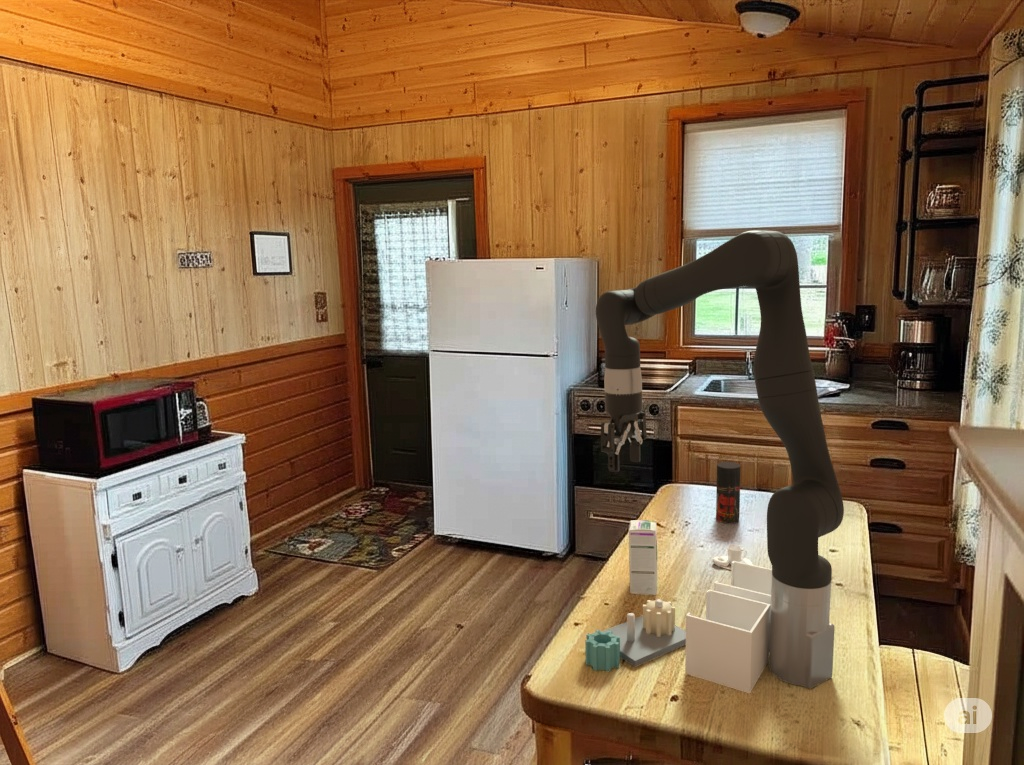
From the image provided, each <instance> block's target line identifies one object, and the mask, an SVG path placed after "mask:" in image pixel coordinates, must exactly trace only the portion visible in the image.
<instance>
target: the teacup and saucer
mask: <svg viewBox="0 0 1024 765" xmlns="http://www.w3.org/2000/svg"><path fill="white" fill-rule="evenodd" d="M742 552H744V555H743V556H742ZM746 556H747V550H746V549H745V548H742V547H741V546H739V545H736V544H735V545H728V546H727V555H721V556H714V557H713V558H711V560H712V563H713V564H714V565H715V566H718V567H721V568H723V569H726V570H729V571H731V567H728V566H729V564H730V565H731V563H732V562H733V561H736V562H741V563H742V561H743V562H745V564H750V565H754V564H753V562H752V561H751V560H750V559H748V558H746Z"/></svg>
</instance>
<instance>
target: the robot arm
mask: <svg viewBox="0 0 1024 765" xmlns="http://www.w3.org/2000/svg"><path fill="white" fill-rule="evenodd" d="M798 260H799V259H798V253H797V250H796V247H795V245H794V243H793V241H792V239H790V237H788V235H786V234H784V233H782V232H780V231H778V230H777V231H776V230H748V231H744V232H741V233H739V234H738V235H736V236H734V237H732V238H731V239H729V240H727V241H726V242H724V243H722V244H721V245H719V246H717V247H716V248H714V249H713V250H711V251H709V252H708V253H706V254H704V255H702V256H700V257H698V258H696V259H695V260H692V261H691V262H690V261H689V262H688V263H686V264H683V265H681V266H678V267H676V268H673V269H670V270H667V271H664V272H662V273H659V274H657V275H653V276H652V277H649V278H647V279H644V280H642V281H641V282H640V283H638V285H637V286H636V287H632V288H628V289H618V290H609V291H605V292H603V293H602V294H601V295H600V296H599V298H598V299H597V302H596V306H595V317H596V323H597V326H598V329H599V333H600V336H601V340H602V342H603V346H604V365H605V366H604V368H605V369H604V378H603V380H604V411H605V412H606V413H607V414H608V415H609V416H610V420H609V422H601V424H600V452H601V453H605V454H607V467H608V471H609V472H611V473H618V472H620V469H621V468H620V467H621V466H620V465H621V464H620V454H619V453H620V450H621V448H622V446H623V445H625V442H626V441H627V439H628V441H629V443H630V444H629V461H630V462H632V463H640V462H641V460H642V459H641V457H642V455H641V445H643V440H644V441H645V440H647V417H646V414H647V413H646V412H645V411H643V378H642V369H641V347H640V346H641V344H640V342H639V340H638V339H637V338H635V337H632V336H629V335H628V332H627V330H626V326H628V325H635V324H638V323H641V322H644V321H646V320H649V319H650V318H652V317H654V316H656V315H660V314H663V313H666V312H669V311H673V310H676V309H678V308H681V307H684V306H686V305H688V304H689V303H691V302H693V301H695V300H697V299H698V298H700V297H701V296H704V295H706V294H708V293H712V292H716V291H719V290H723V289H725V290H726V289H731V288H732V289H733V288H741V287H746V288H755V291H756V295H757V301H758V306H759V312H760V329H759V335H758V338H757V341H756V342H757V343H756V347H755V352H754V356H753V367H752V368H753V378H754V382H755V383H754V384H755V390H756V395H757V400H758V404H759V408H760V411H761V412H762V414H763V416H764V418H765V419H766V421H767V422H768V424H769V425H770V427H771V428H772V430H773V431H774V432H775V433H776V435H777V437H779V439H780V441H781V442H782V444H783V446H784V447H785V450H786V453H787V456H788V460H789V463H790V464H789V465H790V469H791V473H792V474H791V476H792V484H790V485H787V486H785V487H782V488H779V489H778V490H775V491H774V492H773V494H772V495H771V496H770V498H769V500H768V504H767V510H766V540H767V541H766V543H767V544H766V547H767V556H768V559H769V562H770V564H771V569H772V588H771V615H770V644H769V645H770V646H769V662H768V669H769V670H770V672H771V673H772V675H773V676H775V677H776V678H778V679H779V680H780V681H782V682H786V683H789V684H791V685H795V686H803V687H805V688H807V689H809V690H810V689H813V688H815V687H817V686H819V685H820V684H822V683H824V682H825V681H827V680H829V679H831V678H833V670H834V669H833V668H834V666H833V665H834V649H835V648H834V647H835V628H836V627H835V625H834V624H833V623H831V622H830V617H831V616H830V614H831V613H830V612H831V596H832V579H833V577H832V576H833V569H832V568H833V566H832V565H831V562H830V560H828V559H827V558H826V557H824V556H821V555H820V554H819V538H822V537H823V536H826V535H828V534H830V533H832V532H834V531H835V530H837V528H839V527H840V526H841V524H842V523H843V518H844V514H845V511H844V510H845V506H844V500H843V496H842V492H841V488H840V485H839V482H838V479H837V476H836V472H835V469H834V466H833V462H832V459H831V456H830V452H829V448H828V443H827V439H826V432H825V428H824V424H823V419H822V414H821V409H820V401H819V396H818V390H817V384H816V378H815V373H814V368H813V364H812V359H811V355H810V349H809V343H808V337H807V330H806V325H805V320H804V316H803V308H802V298H801V284H800V271H799V268H800V267H799V261H798Z"/></svg>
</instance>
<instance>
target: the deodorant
mask: <svg viewBox="0 0 1024 765" xmlns="http://www.w3.org/2000/svg"><path fill="white" fill-rule="evenodd" d="M741 467H742V466H741V464H740V463H738V462H733V461H721V462H718V463H717V464H716V496H715V497H716V498H715V499H716V500H715V501H716V502H715V507H716V508H715V520H716V521H717V522H719V523H722V524H729V525H732V524H738V523H739V522H740V510H741V509H740V508H741V506H740V504H741V499H740V498H741V469H742V468H741Z"/></svg>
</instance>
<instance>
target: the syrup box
mask: <svg viewBox="0 0 1024 765" xmlns="http://www.w3.org/2000/svg"><path fill="white" fill-rule="evenodd" d="M657 533H658V532H657V521H655V520H649V519H635V520H630V521H629V526H628V560H629V561H628V563H629V564H628V565H629V568H628V569H629V570H628V571H629V593H630V594H633V595H644V596H645V595H646V596H647V595H648V596H657V594H658V539H657V535H658V534H657Z"/></svg>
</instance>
